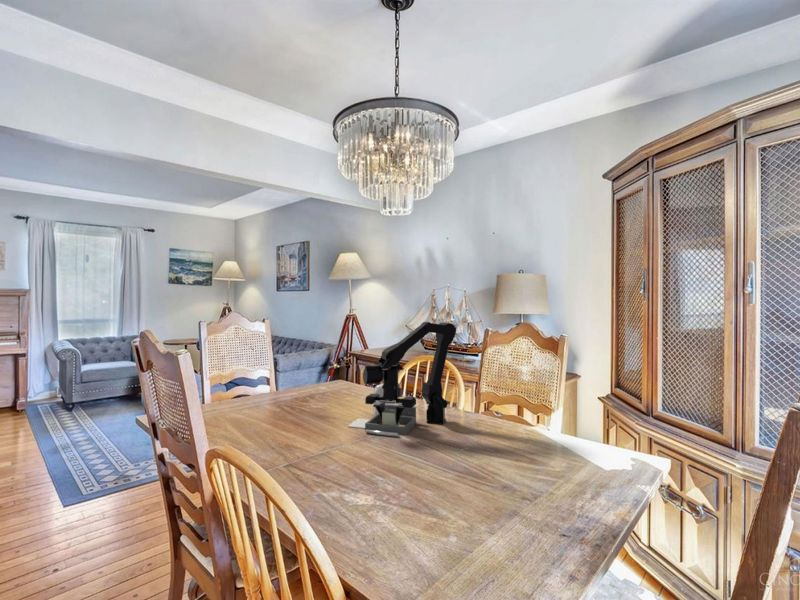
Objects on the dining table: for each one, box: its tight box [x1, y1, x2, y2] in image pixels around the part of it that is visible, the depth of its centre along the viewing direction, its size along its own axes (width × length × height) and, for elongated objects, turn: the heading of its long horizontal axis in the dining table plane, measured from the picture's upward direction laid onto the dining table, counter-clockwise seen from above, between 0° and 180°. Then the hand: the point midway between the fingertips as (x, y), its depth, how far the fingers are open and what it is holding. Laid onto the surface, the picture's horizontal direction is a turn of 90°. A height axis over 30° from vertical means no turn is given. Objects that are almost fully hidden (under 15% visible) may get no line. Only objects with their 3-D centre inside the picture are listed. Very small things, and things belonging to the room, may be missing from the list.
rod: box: [365, 429, 400, 438], centre depth 146 cm, size 12×1×1 cm, turn 72°
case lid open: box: [378, 403, 417, 424], centre depth 162 cm, size 16×2×6 cm, turn 72°
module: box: [381, 409, 400, 426], centre depth 155 cm, size 5×5×6 cm
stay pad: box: [347, 417, 370, 430], centre depth 159 cm, size 7×10×1 cm
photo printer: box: [373, 382, 396, 415], centre depth 175 cm, size 10×4×12 cm, turn 134°
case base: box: [364, 413, 416, 435], centre depth 155 cm, size 16×13×3 cm
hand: (390, 423), depth 155 cm, fingers closed on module, 5 cm apart
